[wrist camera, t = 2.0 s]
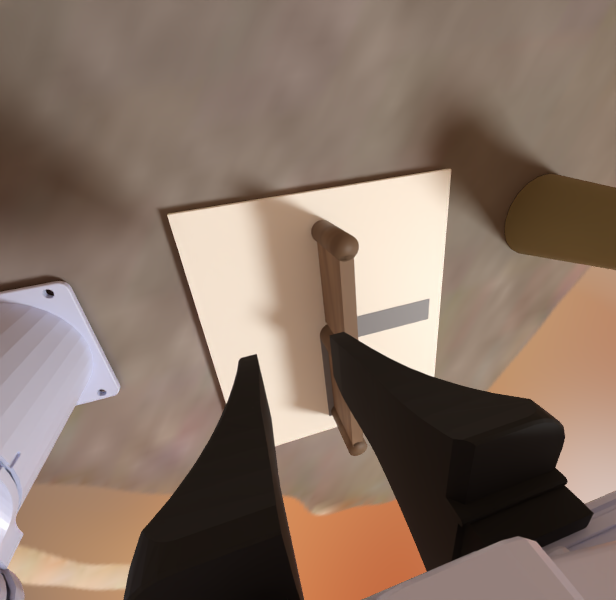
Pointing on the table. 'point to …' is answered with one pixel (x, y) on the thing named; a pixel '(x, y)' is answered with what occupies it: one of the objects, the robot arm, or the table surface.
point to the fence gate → (337, 276)
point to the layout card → (316, 285)
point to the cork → (564, 221)
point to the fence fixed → (343, 408)
